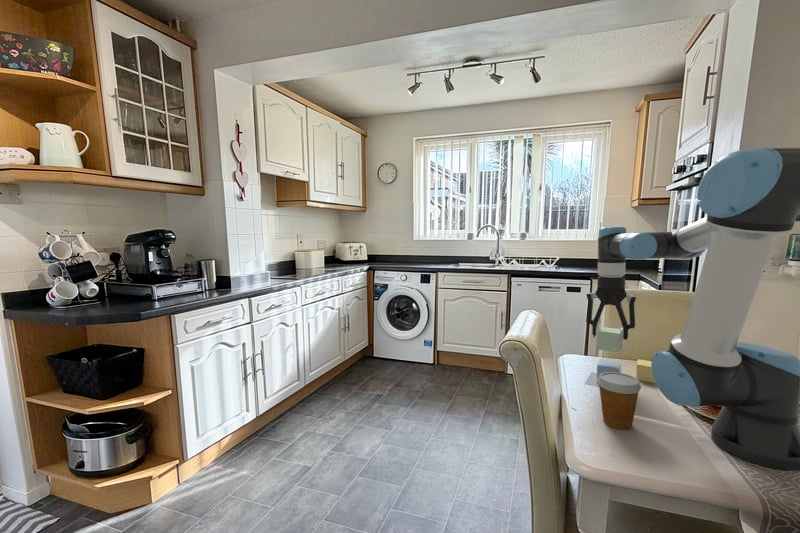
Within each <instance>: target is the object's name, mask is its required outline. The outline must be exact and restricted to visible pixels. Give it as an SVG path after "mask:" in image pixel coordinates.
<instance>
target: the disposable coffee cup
mask: <svg viewBox="0 0 800 533" xmlns="http://www.w3.org/2000/svg"><path fill="white" fill-rule="evenodd" d="M597 382H598V384H599V394H600V403H601V412H602V418H603V419H602V421H603V423H604V422H605V423H606V424H605V423H604V424H605V425H606V426H608V427H610V428H612V429H616V430H620V431H621V430H623V431H625V430H630V429H633V425H634V424H633V423H634V418H635V413H636V408H637V407H636V406H637V403H638V396H639V392H640V391H641V389H642V386H641V384H640V380H637V379H636V376H635V377H634V376H632V375H629V374H626V373H622V372H621V373H618V372H603V373H601V374H600V375H599V378H598V379H597Z"/></svg>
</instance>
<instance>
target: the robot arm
mask: <svg viewBox="0 0 800 533" xmlns="http://www.w3.org/2000/svg"><path fill="white" fill-rule="evenodd" d="M696 197H697V198H696V199H697V200H698V201H699V202H698V205H699V208H700V210H701V211H702V212H703V213H704V214H706V215H707V216H705V217H703V218H701V219H699V220H696V221H694V222H691V223H690V224H687V225H685V226H684V227H681V228H679V229H677V230H673V231H657V232H654V231H652V232H651V231H650V232H649V231H648V232H642V231H639V232H636V231H635V232H628V231H627V228H626V227H625V226H609V227H608V226H607V227H606V226H603V227H600V228H599V230H598V238H597V241H598V242H597V275H598V276H597V281H596V282H597V283H596V284H597V285H596V286H597V289H596V291H595V292H588V293H587V294H586V298H587V308H586V320H585V321H586V323H587V324H589V325H591V326H592V330H591V332H592V336H595V347H598V330H599V329H600V327H601V324H598V323H599V321H600V318H601V315H602V314H603V312H604V308H605V307H606V306H608V305H609V306H615V308H616V310H617V314H618V317H619V320H620V322H621V323H620V324H621V325H622V326H621V328H619V329H620V351H623V350H624V346H625V344H624V343H625V342H624V341H625V340H628V337H629V330H631V329H635V327H636V315H635V314H636V313H635V312H636V310H635V302H636V300H637V296H636V295H631V294H628V293H627V292H626V277H625V275H626V260H627V259H628V260H632V261H641V260H647V259H648V260H649V259H651V260H652V259H691V258H698V257H700V256H702V255H703V253H704V252H706V254H705V257H704V261H703V264H702V267H701V271H700V274H699V277H698V280H697V284H696V288H695V291H694V294H693V297H692V301H691V305H690V306H689V307H690V308H689V311H688V313H687V317H686V321H685V325H684V328H683V331H682V333H679V334H677V335H675V336H673V337H671V340H670V344H669V347H668V350H664V349H663V350H660V351H658V352H655V353H654V354H653V355H652V359H651V360H652V362H651V368H652V374H653V377H654V379H655V382H656V383H655V385H656V386H657V388H658V389H659V391H660V393H661V394H662V395H663V396H664V397H665V398H666V399H667V400H668V401H669V402H671V403H673V404H675V405H677V406H682V407H683V406H684V407H685V406H686V407H692V408H698V407H721V409H720V411H719V412H718V415H717V416H716V418H715V419H714V422H713V423H712V425H711V433H710V434H711V436H710V437H711V440H712V442H714V443H715V444H716V445H717V446H718V447H720V448H721V449H722V450H724V451H726V452H728V453H729V454H731V455H734V456H736V457H737V458H740V459H742V460H745V461H747V462H750V463H754V464H756V465H760V466H763V467H768V468H772V469H778V470H784V471H799V470H800V427H799V411H800V360H799V358H798V357H797V356H796V355H794V354H792V353H790V352H786V351H783V350H780V349H777V348H772V347H768V346H764V345H759V344H755V343H748V342H742V341H739V338H740V336H741V333H742V331H743V328H744V325H745V322H746V320H747V317H748V315H749V311H750V310H751V306H752V303H753V301H754V298H755V295H756V292H757V290H758V287H759V285H760V281H761V280H762V279H761V278H762V276H763V274H764V271H765V268H766V265H767V264H768V260H769V259H770V258H769V257H770V256H771V252H772V249H773V247H774V244H775V241H776V239H777V238H779V237H781V236H783V235H785V234H788V233H790V232H792V230H793V228H794V225H795V223H800V147H769V148H768V147H760V148H759V147H756V148H753V149H752V148H751V149H742V150H736V151H732V152H729V153H727V154H725V155H723V156H721V157H720V158H718V160H717V161H715V162H713V163H712V164H711V166H709V167H708V169H707V170H706V171H705V172H704V174H703V176H702V177H701V180H700V182H699V184H698V188H697V196H696ZM596 297H597V298H598V300H599V301H600V303H599V306H598V307H597V311H596V313H595V316H594V318H592V316H593V311H594V310H593V309H594V300H595V299H596ZM625 298H626V301H627V303H628V308H629V309H628V312H629V313H628V314H629V323H628V321H627V318H626V315H625V312H624V310H623V305H622V301H624V299H625Z"/></svg>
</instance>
